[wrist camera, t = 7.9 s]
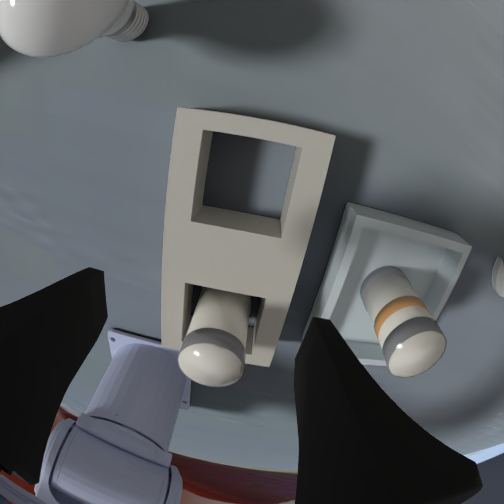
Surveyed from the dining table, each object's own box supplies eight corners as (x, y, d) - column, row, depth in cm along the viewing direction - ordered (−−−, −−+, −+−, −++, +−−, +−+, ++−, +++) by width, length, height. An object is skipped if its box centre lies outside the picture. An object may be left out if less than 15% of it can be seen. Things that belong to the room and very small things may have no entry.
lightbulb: (114, -17, 12) (11, -70, 2) (196, -9, 13) (122, -103, 3) (80, 62, 15) (-47, 57, 5) (158, 77, 15) (36, 55, 5)
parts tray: (398, 347, 23) (407, 366, 21) (301, 336, 23) (304, 358, 21) (455, 232, 18) (472, 246, 16) (346, 201, 18) (357, 214, 16)
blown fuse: (397, 309, 21) (429, 375, 15) (354, 307, 21) (378, 379, 15) (412, 268, 19) (456, 329, 13) (367, 263, 19) (402, 330, 13)
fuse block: (270, 339, 23) (269, 367, 21) (172, 321, 23) (161, 345, 20) (325, 132, 16) (335, 135, 14) (192, 108, 16) (177, 107, 13)
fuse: (247, 319, 23) (238, 391, 16) (199, 310, 23) (177, 379, 16) (256, 279, 21) (249, 350, 15) (204, 269, 21) (178, 336, 15)
